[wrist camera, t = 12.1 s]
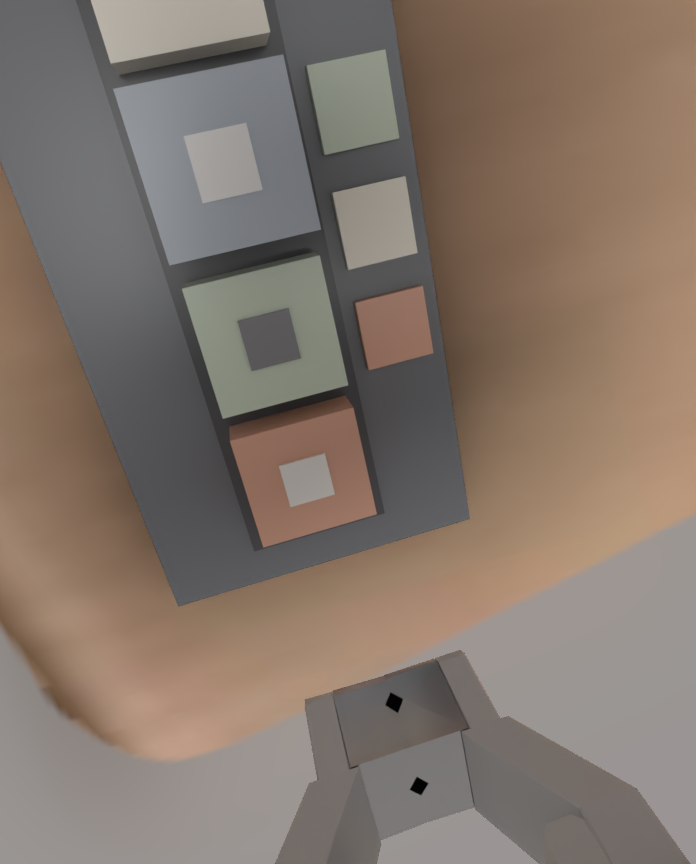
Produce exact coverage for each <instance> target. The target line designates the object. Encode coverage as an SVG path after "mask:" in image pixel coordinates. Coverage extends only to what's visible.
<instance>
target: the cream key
mask: <svg viewBox="0 0 696 864" xmlns="http://www.w3.org/2000/svg"><path fill="white" fill-rule="evenodd" d="M91 3H92V6H93V9H94V12H95V15H96V19H97V22H98V25H99V28H100V31H101V34H102V38H103V41H104V44H105V47H106V50H107V53H108V57H109V60H110V63H111V65H112V66H113V67H114V69H115V70H116V71H117V73H118V74H119V75H121V74H126V73H131V72H136V71H141V70H146V69H151V68H156V67H161V66H166V65H171V64H176V63H181V62H186V61H191V60H196V59H201V58H206V57H211V56H216V55H221V54H226V53H231V52H236V51H241V50H246V49H251V48H256V47H261V46H266V45H267V42H268V38H269V35H270V28H269V24H268V19H267V15H266V10H265V6H264V1H263V0H91Z"/></svg>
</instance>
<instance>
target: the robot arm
mask: <svg viewBox="0 0 696 864" xmlns="http://www.w3.org/2000/svg"><path fill="white" fill-rule="evenodd" d="M305 711H306V716H307V722H308V728H309V734H310V739H311V746H312V751H313V757H314V763H315V769H316V774H317V781H314V782H311V783H309V785H308V787H307V790H306V792H305V795H304V797H303V799H302V801H301V804H300V806H299V808H298V811H297V813H296V816H295V818H294V820H293V823H292V825H291V827H290V830H289V832H288V834H287V837H286V839H285V841H284V844H283V846H282V848H281V851H280V853H279V855H278V858H277V860H276V863H275V864H377V860H378V856H379V851H380V847H381V841H380V840H383V839H385V838H388V837H391V836H393V835H396V834H398V833H401V832H403V831H406V830H409V829H411V828H414V827H416V826H419V825H421V824H424V823H427V822H429V821H433V820H436V819H439V818H442V817H445V816H448V815H452V814H455V813H458V812H461V811H464V810H467V809H471V808H474V807H475V809H476V810H477V811H478V812H479V813H480V814H481V815H482V816H483V817H485V818H486V819H487V820H488V821H489V822H491V823H492V824H493V825H494V826H495V827H497V828H498V829H499V830H500V831H501V832H502V833H504V834H505V835H506V836H507V837H508V838H509V839H511V840H512V841H513V842H514V843H515V844H517V845H518V846H519V847H520V848H521V849H522V850H524V851H525V852H526V853H527V854H528V855H530V856H531V857H532V858H533V859H534V860H535V861H537V862H538V863H539V864H690V862H689V861H688V860H687V859H686V857H685V855H684V854H683V853H682V852H681V850H680V848H679V847H678V846H677V844H676V843H675V842H674V840H673V839H672V837H671V836H670V835H669V833H668V832H667V830H666V829H665V827H664V826H663V825H662V823H661V822H660V820H659V819H658V818H657V816H656V815H655V813H654V812H653V811H652V809H651V808H650V806H649V805H648V804H647V802H646V801H645V799H644V798H643V797H642V795H641V794H640V792H639V791H638V790H637V788H635V787H633V786H631V785H630V784H628V783H626V782H624V781H622V780H621V779H619V778H617V777H615V776H614V775H612V774H610V773H608V772H606V771H605V770H603V769H601V768H599V767H598V766H596V765H594V764H592V763H590V762H589V761H587V760H585V759H583V758H582V757H580V756H578V755H576V754H574V753H573V752H571V751H569V750H568V749H566V748H564V747H562V746H560V745H559V744H557V743H555V742H553V741H551V740H550V739H548V738H546V737H544V736H543V735H541V734H539V733H537V732H536V731H534V730H532V729H530V728H529V727H527V726H525V725H523V724H521V723H519V722H518V721H516V720H514V719H513V718H511V717H509V716H507V717H504V718H500V717H499V715H498V713H497V711H496V710H495V708H494V706H493V704H492V702H491V700H490V699H489V697H488V695H487V693H486V692H485V690H484V688H483V686H482V684H481V682H480V681H479V679H478V677H477V675H476V673H475V671H474V670H473V668H472V666H471V664H470V662H469V661H468V659H467V657H466V655H465V653H463V652H462V651H461V650H459V651H456V652H453V653H449V654H446V655H443V656H440V657H438V658H435V659H432V660H428V661H426V662H422V663H419V664H417V665H413V666H411V667H407V668H404V669H401V670H398V671H395V672H392V673H389V674H386V675H384V676H382V677H378V678H375V679H372V680H368V681H365V682H361V683H358V684H355V685H351V686H348V687H344V688H341V689H337V690H334V691H333V693H332V692H329V693H326V694H323V695H319V696H316V697H312V698H309V699H305Z"/></svg>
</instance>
